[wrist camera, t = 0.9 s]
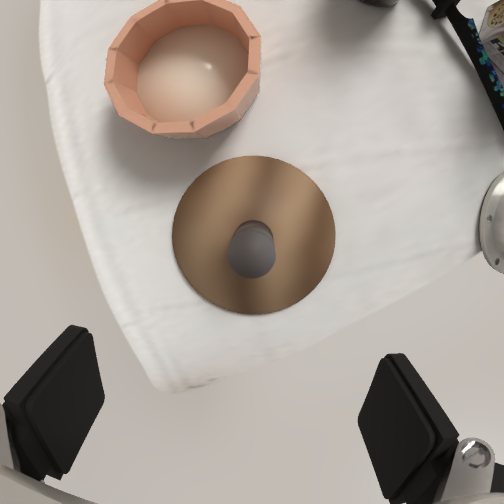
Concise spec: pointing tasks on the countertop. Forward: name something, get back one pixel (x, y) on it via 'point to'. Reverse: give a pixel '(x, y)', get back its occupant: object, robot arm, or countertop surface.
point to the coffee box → (494, 33)
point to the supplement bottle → (380, 2)
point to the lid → (253, 235)
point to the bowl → (185, 67)
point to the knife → (474, 52)
